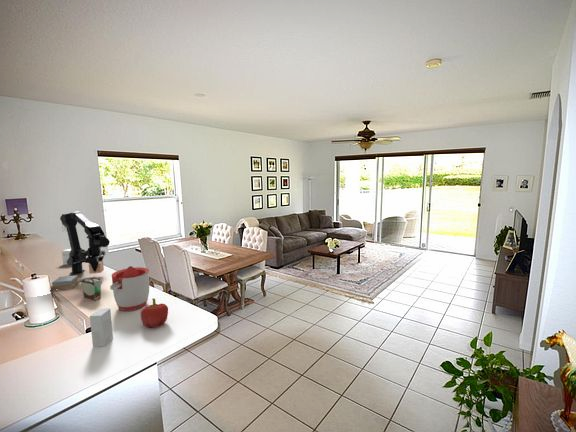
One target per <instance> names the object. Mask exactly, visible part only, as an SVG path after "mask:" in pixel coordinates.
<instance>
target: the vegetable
mask: <svg viewBox="0 0 576 432" xmlns="http://www.w3.org/2000/svg"><path fill="white" fill-rule="evenodd" d="M151 300H152V304H151V305H148V306H146V305H145V306H143V307H142V309H141V310H140V319H141V323H142V324H143V326H144V327H146V328H150V327H151V328H156V327H158V326H162V325H164V324H165V323H166V321H167V319H168V315H169V307H168V305H166V304H165V303H158V304H157V302H156V299H155V298H151Z"/></svg>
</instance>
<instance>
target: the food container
mask: <svg viewBox="0 0 576 432" xmlns="http://www.w3.org/2000/svg"><path fill="white" fill-rule="evenodd" d="M80 279H81V282H80V284H81V289H82V296H83V298H84V299H86V300H89V301H93V302H97V301H99V300H100V299H101V298H102V297H101V295H102V284H103V279H102V278H101V277H99V276H92V277H84V278H80Z"/></svg>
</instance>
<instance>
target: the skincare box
mask: <svg viewBox="0 0 576 432" xmlns="http://www.w3.org/2000/svg"><path fill="white" fill-rule="evenodd" d="M89 321H90V322H89V323H90V332H91V343H92V347H106V345H107V344H108V343H109V342H110V341H111V340H112V339H113V338H114V333H113V324H112V323H113V322H112V312H111V308H98V309H97V310H96V311H95V312H93V313H92V314H90V315H89Z"/></svg>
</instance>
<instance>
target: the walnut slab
mask: <svg viewBox="0 0 576 432" xmlns="http://www.w3.org/2000/svg"><path fill="white" fill-rule="evenodd" d="M81 279H82V278H78V280H77V281H76V282H75V283H73V284H72V285H65V286H54V287H53V286H52V285H51V286H50V287H51V291H57V290H56V289H62V290H69V289H75V287H77V286H78V285H79V284H81Z"/></svg>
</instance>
